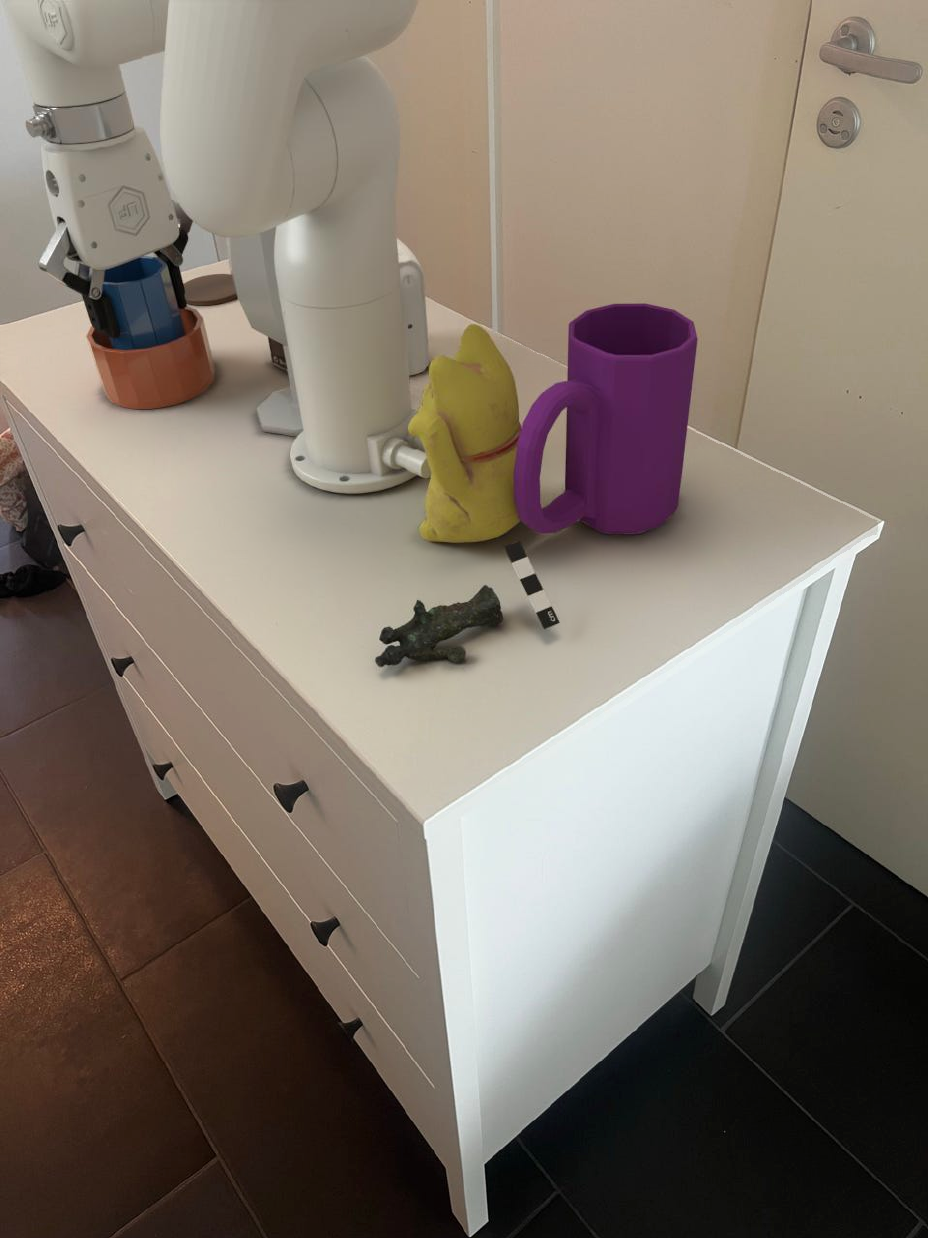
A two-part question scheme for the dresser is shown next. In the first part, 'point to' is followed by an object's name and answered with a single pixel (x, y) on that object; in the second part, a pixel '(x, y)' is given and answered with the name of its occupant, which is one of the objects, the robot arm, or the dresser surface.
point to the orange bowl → (156, 367)
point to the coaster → (210, 290)
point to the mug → (613, 422)
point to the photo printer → (413, 310)
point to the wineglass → (265, 320)
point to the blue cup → (143, 304)
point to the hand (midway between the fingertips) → (142, 317)
